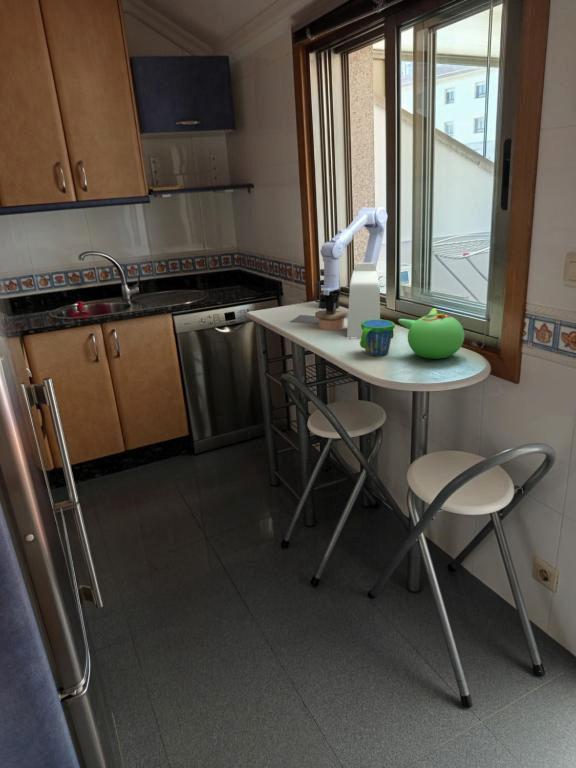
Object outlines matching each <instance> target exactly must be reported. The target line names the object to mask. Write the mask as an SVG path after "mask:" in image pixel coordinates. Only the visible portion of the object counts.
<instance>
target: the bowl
mask: <svg viewBox="0 0 576 768" xmlns="http://www.w3.org/2000/svg"><path fill="white" fill-rule="evenodd" d="M344 327H345V318H344V319H339V320H324V319H319V324H318V328H319V329H321V330H327V331H328V330H329V331H333V330H334V331H335V330H336V331H337V330H340V329H343V328H344Z"/></svg>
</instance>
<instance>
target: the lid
mask: <svg viewBox="0 0 576 768" xmlns="http://www.w3.org/2000/svg"><path fill="white" fill-rule="evenodd" d="M314 316H315V317H317V318H319V319H324V320H339V319H344V320H345V319H346V318H347V313H346V312H345V311H343V310H342V311H341V310H337V309H336V303H334V309H333V311H332V312H330V311H327V308H326V309H322V310H319V311H316V312H315V313H314Z"/></svg>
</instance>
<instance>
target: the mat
mask: <svg viewBox="0 0 576 768" xmlns="http://www.w3.org/2000/svg"><path fill="white" fill-rule="evenodd" d="M289 323H294V324H295V323H298V324H308V325H309V324H310V325H311V324H313V325H319V318H317V317H315V315H310V314H309V315H308V314H307V315H305V314H300V315H298V316H296V317H295V318H293V319H292V320H289Z"/></svg>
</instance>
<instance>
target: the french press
mask: <svg viewBox="0 0 576 768" xmlns="http://www.w3.org/2000/svg"><path fill="white" fill-rule="evenodd" d="M318 271H319V275H320V276H322V277H324V268H322V269H319V270H318ZM321 286H324V279H321V280H318V282H317V281H315V282H314V287H315V288H314V292H315V293H314V299H315V300H314V301H315V303H318V309H320V308H321V309H320V310H326V304H325V300H324V298H322V297H323V296H322V293H323V291H322V288H321ZM318 287H319V288H318ZM318 290H319V291H318ZM337 290H340V288H339V289H337ZM318 293H319V294H318ZM318 297H319V299H318ZM339 299H340V296H339V297H338V300H337V305H336V308H338V307H339V308H340V300H339ZM339 308H338V309H339Z"/></svg>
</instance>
